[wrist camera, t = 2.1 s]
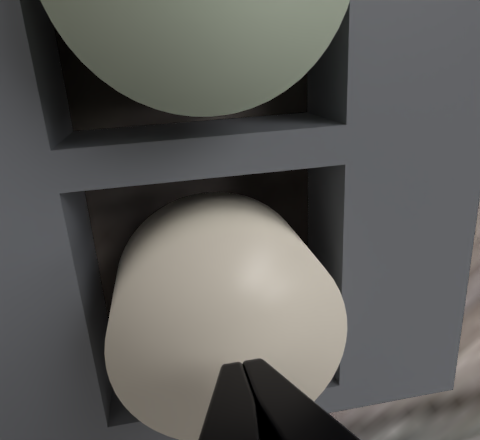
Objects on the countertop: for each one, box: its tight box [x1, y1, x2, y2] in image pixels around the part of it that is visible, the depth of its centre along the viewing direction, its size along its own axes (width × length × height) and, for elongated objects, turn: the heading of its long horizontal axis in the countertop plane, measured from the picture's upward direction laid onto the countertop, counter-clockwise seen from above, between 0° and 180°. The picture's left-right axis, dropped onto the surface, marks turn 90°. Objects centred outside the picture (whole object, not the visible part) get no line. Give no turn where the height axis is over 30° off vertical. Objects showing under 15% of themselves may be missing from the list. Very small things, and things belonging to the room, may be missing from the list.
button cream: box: [104, 192, 347, 440], centre depth 12 cm, size 6×6×3 cm
